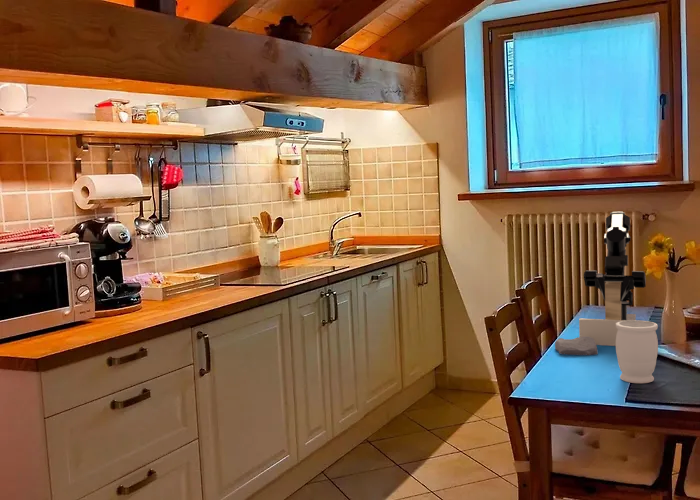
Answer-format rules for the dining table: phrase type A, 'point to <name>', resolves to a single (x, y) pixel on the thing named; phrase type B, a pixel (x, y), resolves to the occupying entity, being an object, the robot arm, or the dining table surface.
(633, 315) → the hinge post
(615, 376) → the dining table surface
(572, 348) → the stone block
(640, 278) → the robot arm
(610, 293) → the block
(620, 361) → the jar
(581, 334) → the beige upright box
